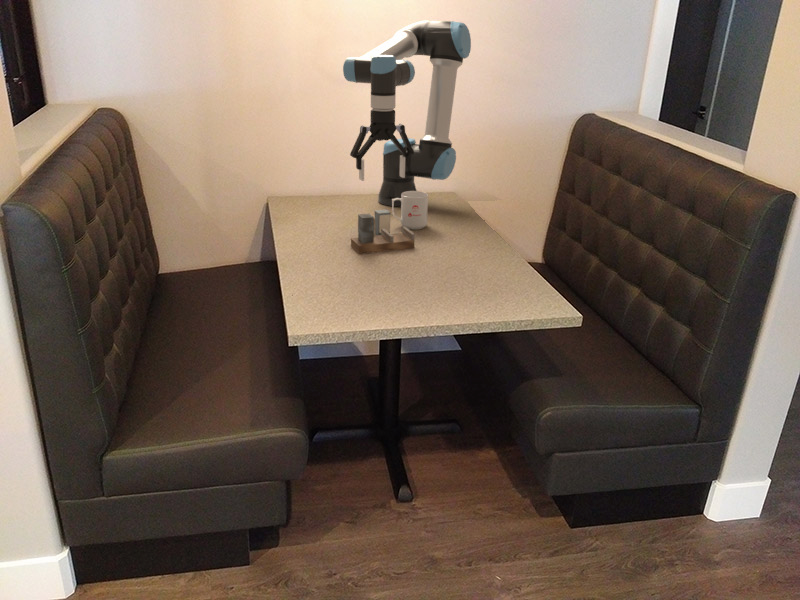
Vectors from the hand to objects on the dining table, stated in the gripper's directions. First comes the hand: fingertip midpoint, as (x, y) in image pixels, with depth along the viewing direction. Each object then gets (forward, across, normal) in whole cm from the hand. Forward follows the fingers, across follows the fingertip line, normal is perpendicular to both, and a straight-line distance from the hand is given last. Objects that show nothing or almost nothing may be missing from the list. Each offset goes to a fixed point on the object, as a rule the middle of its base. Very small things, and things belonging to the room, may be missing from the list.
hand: (382, 178), depth 223 cm
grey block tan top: (+19, 0, 0) cm, 19 cm away
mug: (+19, -12, -6) cm, 23 cm away
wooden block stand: (+19, +4, +11) cm, 22 cm away
